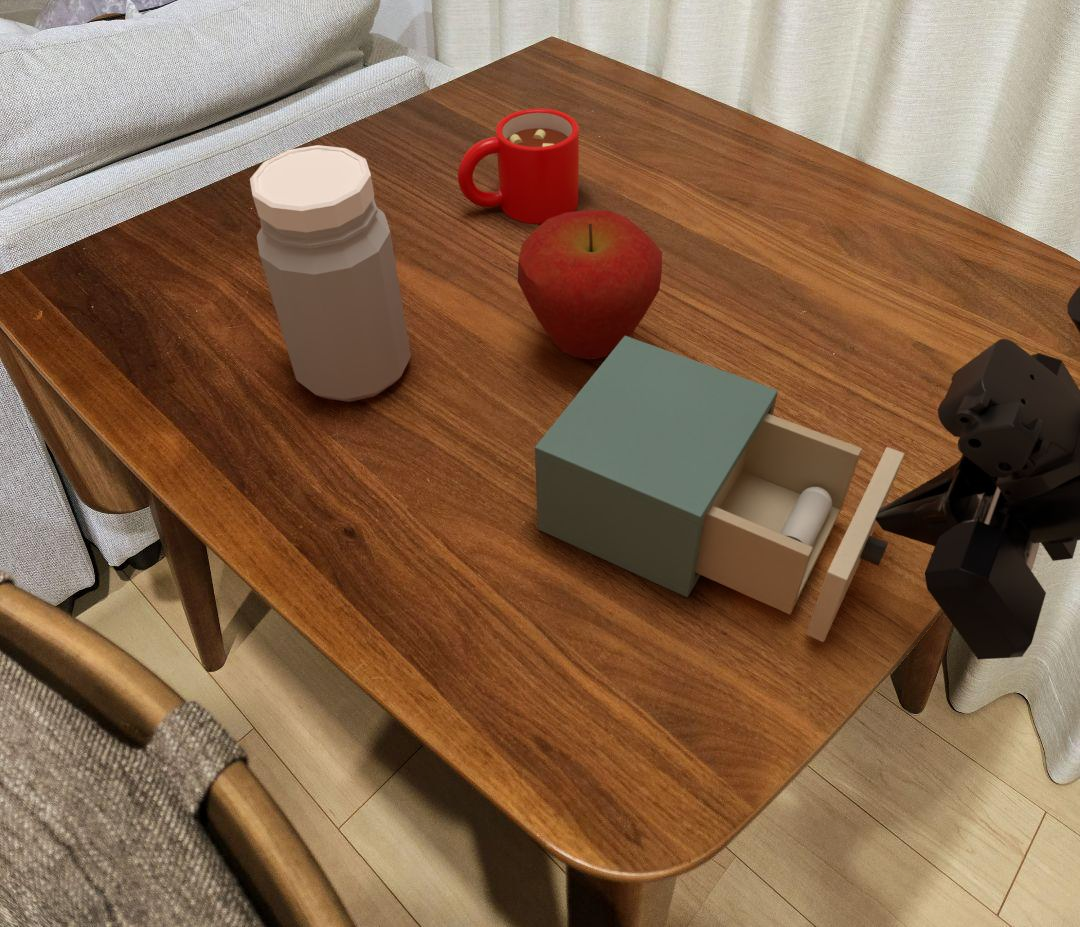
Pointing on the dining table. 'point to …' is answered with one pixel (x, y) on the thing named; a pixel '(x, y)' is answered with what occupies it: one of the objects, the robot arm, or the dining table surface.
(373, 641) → the dining table surface
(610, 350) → the apple
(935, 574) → the robot arm
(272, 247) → the jar
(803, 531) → the marker
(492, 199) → the mug
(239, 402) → the dining table surface
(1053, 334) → the dining table surface
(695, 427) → the cabinet
